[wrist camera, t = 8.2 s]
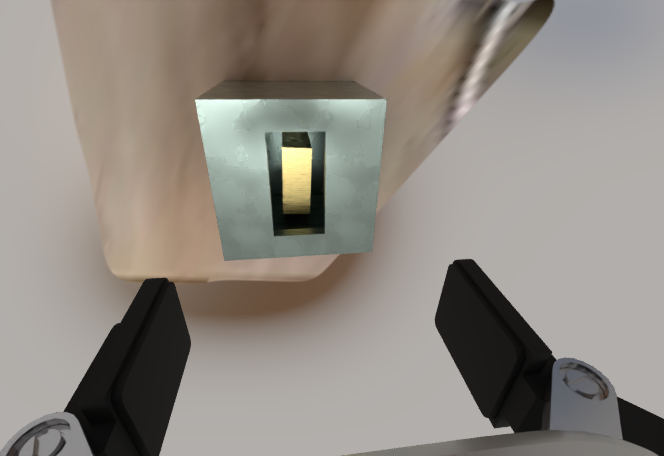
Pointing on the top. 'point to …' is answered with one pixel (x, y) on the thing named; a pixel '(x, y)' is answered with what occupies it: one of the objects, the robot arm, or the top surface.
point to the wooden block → (296, 172)
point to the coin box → (266, 165)
